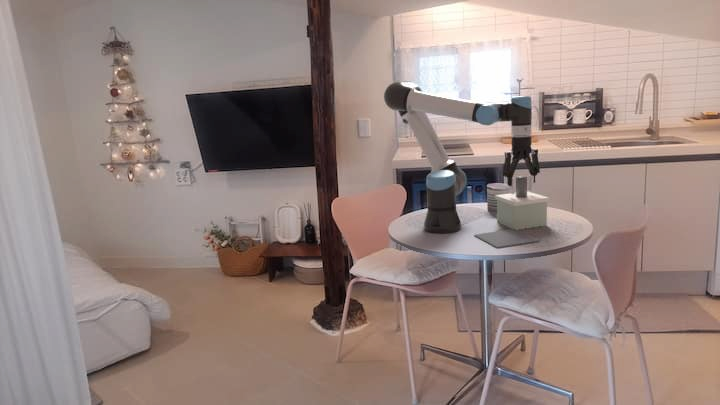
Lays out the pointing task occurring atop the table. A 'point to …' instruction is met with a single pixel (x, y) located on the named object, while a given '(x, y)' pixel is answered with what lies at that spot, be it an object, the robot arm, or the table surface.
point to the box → (522, 215)
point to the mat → (506, 238)
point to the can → (495, 190)
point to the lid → (521, 194)
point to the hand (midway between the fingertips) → (521, 192)
